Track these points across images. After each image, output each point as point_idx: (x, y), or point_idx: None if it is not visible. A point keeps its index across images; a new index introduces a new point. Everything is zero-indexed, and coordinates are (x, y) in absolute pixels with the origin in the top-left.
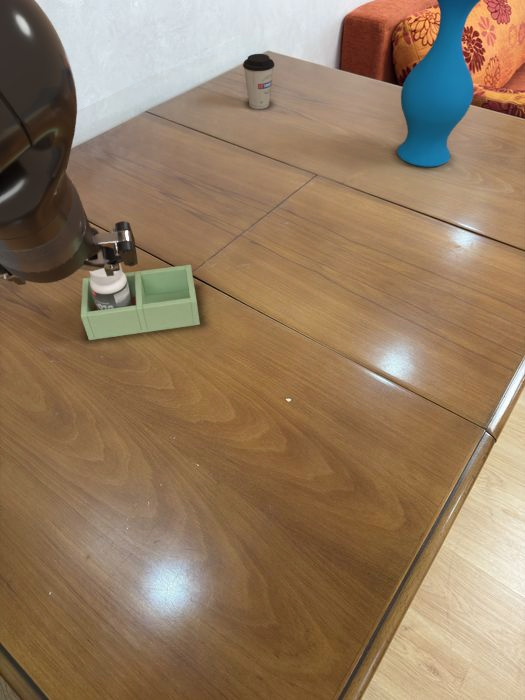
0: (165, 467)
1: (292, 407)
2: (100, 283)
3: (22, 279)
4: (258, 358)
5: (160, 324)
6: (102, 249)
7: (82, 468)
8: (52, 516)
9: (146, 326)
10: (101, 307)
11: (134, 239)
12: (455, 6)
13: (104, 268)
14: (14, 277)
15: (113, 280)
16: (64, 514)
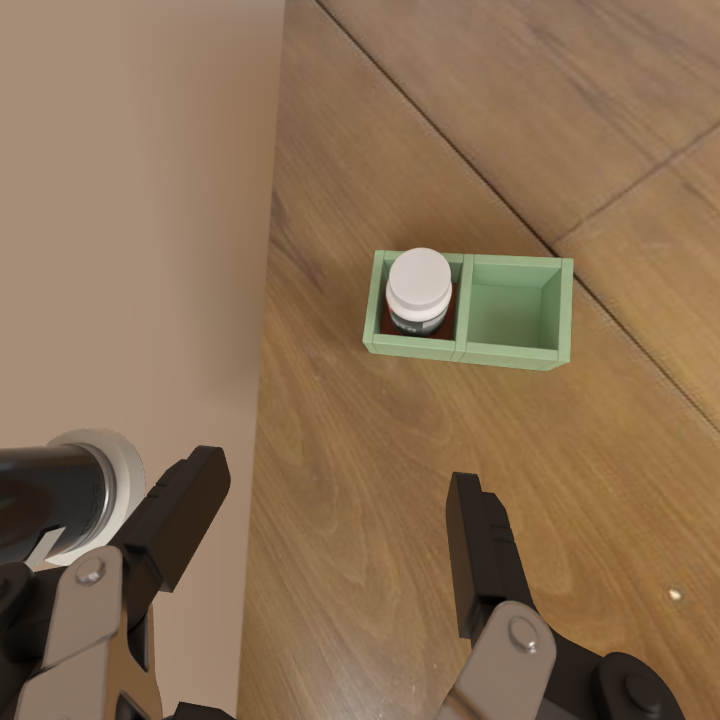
0: (445, 638)
1: (678, 614)
2: (405, 307)
3: (211, 515)
4: (637, 481)
5: (482, 362)
6: (475, 598)
7: (336, 587)
8: (293, 647)
9: (459, 359)
10: (396, 323)
11: (678, 713)
12: None
13: (460, 635)
14: (164, 590)
15: (430, 307)
16: (307, 651)
